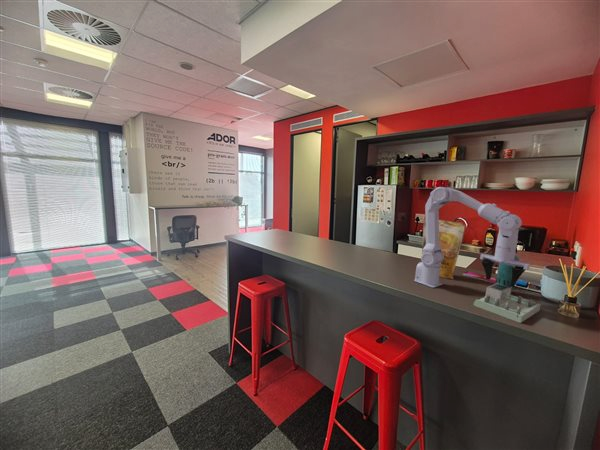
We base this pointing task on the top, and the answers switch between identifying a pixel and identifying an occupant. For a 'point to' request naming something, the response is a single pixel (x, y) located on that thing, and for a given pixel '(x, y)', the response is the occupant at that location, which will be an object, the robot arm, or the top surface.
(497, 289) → the block
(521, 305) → the tray
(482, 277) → the smartphone
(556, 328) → the top surface
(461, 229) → the pancake mix bag
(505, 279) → the beverage bottle
